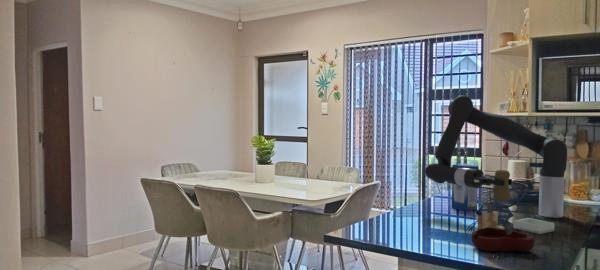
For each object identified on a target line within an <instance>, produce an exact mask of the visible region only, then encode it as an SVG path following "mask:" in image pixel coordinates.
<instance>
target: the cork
mask: <svg viewBox="0 0 600 270" xmlns="http://www.w3.org/2000/svg"><path fill="white" fill-rule="evenodd" d="M509 171H510V170H505V169H497V170H496V171H495V173H494V175H495V177H496V178H497V179H501V180H505V185H504V186H500V185H494V191H493V200H497V201H511V191H510V185H509V182H508V179H510V177H511V173H510V172H509Z"/></svg>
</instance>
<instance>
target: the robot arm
mask: <svg viewBox="0 0 600 270" xmlns="http://www.w3.org/2000/svg"><path fill="white" fill-rule="evenodd" d="M447 109H448V113H449V115H450V117H449V120H448V123H447V126H446V128H445V130H444V132H443V133H442V136H441V138H440V140H439V142H438V144H437V145H438V146H437V148H436V151H435V153H434V157H435V159H436V160H437V163H435V162H432V163H430V164H427V166H426V167H425V169H424V173H425V176H426V177H427V178H428V179H430V180H431V181H433V182H435V183H437V184H443V183H449V184H451V185H452V184H457V185H461V186H466V187H473V188H478V189H480V188H481V187H482V186H495V185H500V186H504V185H505V180H501V179H497V178H496V177H495V174H494V175H493V174H492V175H491V174H489V173H488V174H487V173H486V174H484V172H483V170H481V169H472V168H457V167H452V166H451V161H452V157H453V154H454V153H455V150H456V146H457V143H458V141H459V138H460V136H461V135H460V134H461V132H462V131H463V130H462V129H463V127H464V126H465V123H468V124H470V125H473V126H475V127H477V128H479V129H481V130H483V131H486V132H487V133H490V134H491V135H494V136H496V137H498V138H500V139H502V140H504V141H507V142H510V143H512V144H514V145H517V146H521V147H524V148H527V149H529V150H530V151H532V152H534V153H536V154H537V155H539V156H541V157H542V166H541V168H540V170H539V190H538V191H539V193H538V195H539V196H538V216H540V217H545V218H546V217H547V218H554V219H557V218H558V219H559V218H563V217H564V202H565V198H564V197H565V194H564V193H565V191H564V190H565V188H564V187H565V173H566V170H567V164H568V163H567V162H568V147H567V145H566V143H565V142H564V141H562V140H561V139H558V138H551V137H547V136H544V135H541V134H538V133H536V132H534V131H532V130H531V129H529V128H527V127H526V126H525V125H523V124H521V123H520V122H518V121H516V120H514V119H511V118H509V117H507V116H504V115H502V114H498V113H492V112H489V111H488V112H487V111H483V110H480V109H479V108H476V107H474V102H473V100H472V99H471V98H470V97H469V96H468V95H458V96H457V97H455V98H454V99H453V100H452V101H451V102H450V103H449V105H448V108H447ZM508 182H509V186H511V185H513V179H511V178H509V179H508Z"/></svg>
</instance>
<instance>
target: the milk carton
mask: <svg viewBox="0 0 600 270" xmlns="http://www.w3.org/2000/svg"><path fill="white" fill-rule="evenodd" d="M451 167H457V168H472V169H479V165H471V164H463V163H461V164H458V163H457V164H452V166H451ZM478 195H479V188H473V187H466V186H461V185H457V184H451V204H450V206H451V207H450V208H452V209H457V210H460V211H464V210H465V212H471V211H470V210H476V211H478V205H479V204H478V201H479V200H478V199H479V196H478Z"/></svg>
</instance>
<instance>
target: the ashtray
mask: <svg viewBox="0 0 600 270" xmlns="http://www.w3.org/2000/svg"><path fill="white" fill-rule="evenodd" d="M471 242H472V244H473V245H474V247H476V248H477V249H480V252H482V253H486V254H487V253H489V254H490V253H491V252H492V251H493V252H494V251H495V252H503V253H504V252H505V253H506V252H507V253H508V252H515V251H516V252H517V253H520V254H526V253H528V251H532V249H533V248H534V245H535V238H534V237H533V236H530V235H527V233H524V232H523V231H515V230H512V231H511V233H508V232H507V231H506V229H496V228H489V227H487V228H483V229H476V230H474V231H472V232H471Z"/></svg>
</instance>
